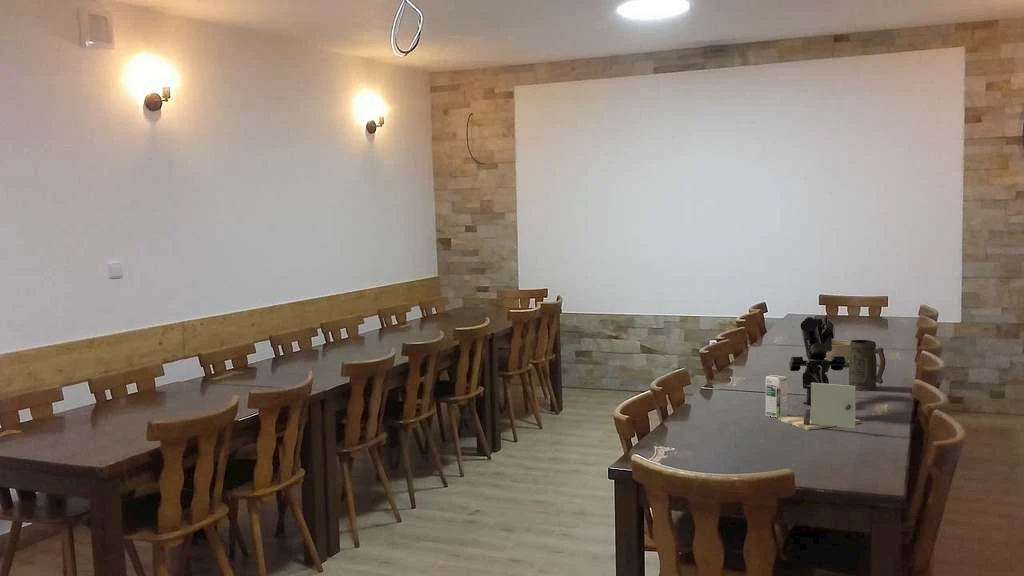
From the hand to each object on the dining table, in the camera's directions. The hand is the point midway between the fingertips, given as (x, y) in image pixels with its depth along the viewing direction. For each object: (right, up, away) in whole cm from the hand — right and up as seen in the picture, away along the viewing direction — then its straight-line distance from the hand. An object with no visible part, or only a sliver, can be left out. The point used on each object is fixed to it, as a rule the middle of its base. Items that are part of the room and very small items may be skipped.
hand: (821, 383), depth 296 cm
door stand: (-3, -13, -5) cm, 14 cm away
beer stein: (+36, -8, +46) cm, 59 cm away
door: (-3, -12, -17) cm, 21 cm away
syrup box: (-14, -13, +5) cm, 20 cm away
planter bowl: (+44, -3, +101) cm, 110 cm away
